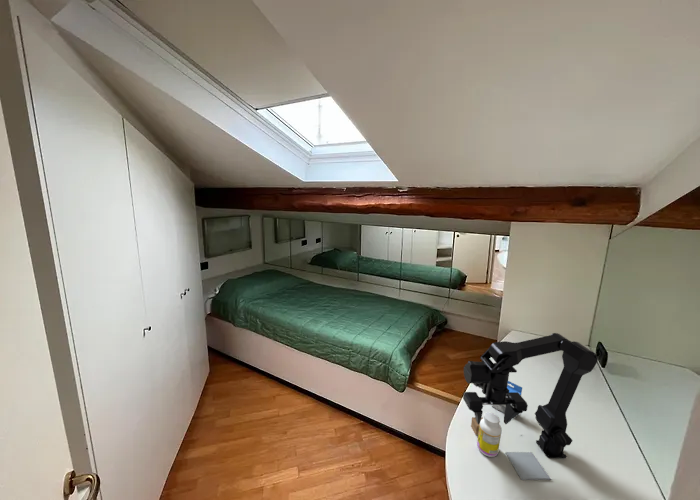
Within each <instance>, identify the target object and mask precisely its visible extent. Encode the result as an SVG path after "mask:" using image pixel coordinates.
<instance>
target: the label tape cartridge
mask: <svg viewBox="0 0 700 500" xmlns="http://www.w3.org/2000/svg"><path fill="white" fill-rule="evenodd" d="M507 389H508V390H509V392H518V393H519V394H520V395H521V396H522V393H523V392H522V391H523V387H522V386H520V385H518V384H516V383H514V382H512V381H510V380H508V385H507ZM506 397H507V396H506ZM491 407H492V408H493V409H494V410H497V411H498V412H501V413H503V414H505V408H506V405H491ZM516 418H517V416H516V417H514V418H513V419H512V420H515V419H516Z"/></svg>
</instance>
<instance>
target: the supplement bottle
mask: <svg viewBox="0 0 700 500" xmlns="http://www.w3.org/2000/svg"><path fill="white" fill-rule="evenodd" d="M500 422H501V421H500V418H499V416H498V415H497V414H495V413H494V412H490V411H487V412H484V414H483V419H482V420H481V421H480V425H479V433H478V435H477V441H476V446H477V449H478V451H479V452H480V453H481V454H482V455H484V456H486V457H489V458H494V457H497V455H499V449H500V443H501V437H502V430H503V429H502V427H501V424H500Z"/></svg>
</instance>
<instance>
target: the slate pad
mask: <svg viewBox="0 0 700 500" xmlns="http://www.w3.org/2000/svg"><path fill="white" fill-rule="evenodd" d="M505 455H506V457H507V458H508V460H509V462H510V463H511V465H512V466H513V468H514V470H515V472H516V474H517V475H518V476H519V478H520V480H523V481H530V480H531V481H551V477H550V475H549V473H547V471H546V470H545V468H544V467H543V466H542V464H541V462H540V461H539V460H538V458H537V457H536V455H535V454H534V453H533V452H532V451H505Z"/></svg>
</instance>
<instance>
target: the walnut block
mask: <svg viewBox="0 0 700 500" xmlns="http://www.w3.org/2000/svg"><path fill="white" fill-rule="evenodd" d="M483 418H484V416H482V417H481V420H482V419H483ZM479 425H480V423H479V424H478V423H477V421H476V417H474V416H473V417H472V418H471V423H470V427H471V429H472V431H473V433H474V435H475V436H478V433H479Z"/></svg>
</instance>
